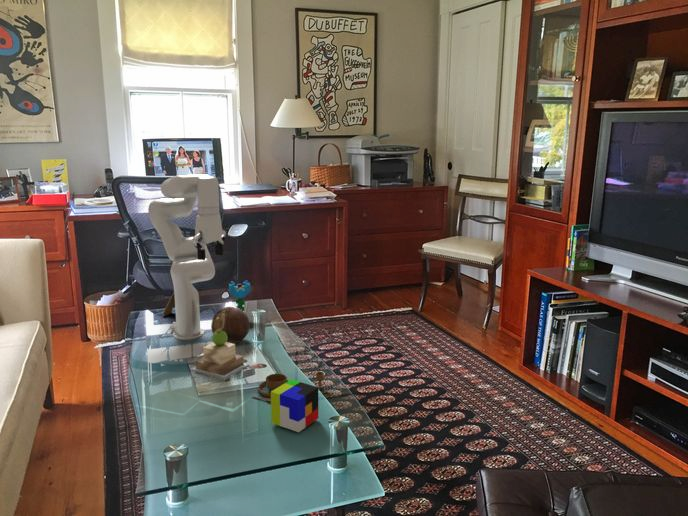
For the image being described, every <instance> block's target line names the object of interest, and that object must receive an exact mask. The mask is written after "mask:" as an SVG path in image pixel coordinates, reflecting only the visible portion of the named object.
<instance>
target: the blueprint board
mask: <svg viewBox="0 0 688 516" xmlns="http://www.w3.org/2000/svg"><path fill="white" fill-rule="evenodd" d="M249 365H250V363H247V362H244V364H243V365H241V366H239V367H237V368H236V369H234V370H232V371H230V372H229V373H227V374H225V375H223V376H221V375H218V374H214V373H210V372H206V371H202V370H198V369H196V365H195V366H193V367H191V368H189V371H193V372H197V373H200V374H204V375H208V376H212V377H215V378H218V379H221V380H224V379H226V378H228V379H230V378H231V377H230V376H231V375H233V376H235V375H236V374H238V373H239V372H241V371H242V369H243V368H244V369H245V367H246V368H247V367H250V366H251V365H250V366H249ZM244 369H243V370H244ZM240 370H241V371H240ZM237 372H238V373H237ZM235 373H236V374H235ZM234 374H235V375H234ZM229 377H230V378H229Z"/></svg>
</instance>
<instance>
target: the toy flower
mask: <svg viewBox="0 0 688 516" xmlns="http://www.w3.org/2000/svg"><path fill="white" fill-rule="evenodd" d="M228 290H229V294H231V296H233V298H236V299H235V304H236V306H235V307H236V308H239V309H241V310H242V311H243V312H245V306H244V305H246V304H245V303H246V301H245V300H243V298H246V297H247V295H249V293H251V283H250V282H249V281H248V280H244V282H242V283H237V284H236V282H234V280H233V281H230V283H229V284H228Z"/></svg>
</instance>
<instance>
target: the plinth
mask: <svg viewBox="0 0 688 516" xmlns="http://www.w3.org/2000/svg"><path fill="white" fill-rule="evenodd" d="M202 354H203V356H202V357H201V358H199V359H197V360H196V361H195V366H196V369H198V370H202V371H206V372H210V373H214V374H218V375H221V376H223V375H225V374H227V373H229V372H230V371H232V370H234V369H236V368H237V367H239V366H241V365H243V364H244V363H245V362H244V360H245V359H244V356H243V355H240V354H236V344H233V343H228V342H226V343H225V344H223V345H220V346H219V345H216V344H214V343H213V342H211V343H209V344H207V345H205V346H203V347H202Z"/></svg>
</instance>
